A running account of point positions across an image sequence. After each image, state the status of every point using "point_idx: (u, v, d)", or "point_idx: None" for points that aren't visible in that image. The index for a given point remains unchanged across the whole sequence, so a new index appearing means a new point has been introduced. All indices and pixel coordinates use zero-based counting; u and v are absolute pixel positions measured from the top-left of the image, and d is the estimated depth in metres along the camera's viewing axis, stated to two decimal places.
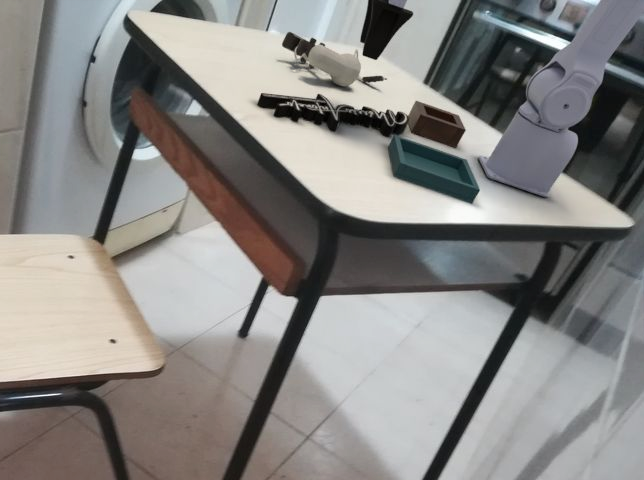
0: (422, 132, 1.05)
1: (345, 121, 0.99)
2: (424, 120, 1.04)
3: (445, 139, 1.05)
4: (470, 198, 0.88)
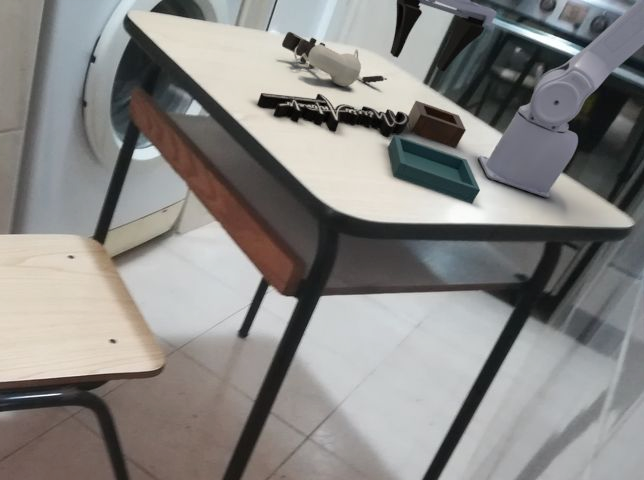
0: (422, 132, 1.05)
1: (345, 121, 0.99)
2: (424, 120, 1.04)
3: (445, 139, 1.05)
4: (470, 198, 0.88)
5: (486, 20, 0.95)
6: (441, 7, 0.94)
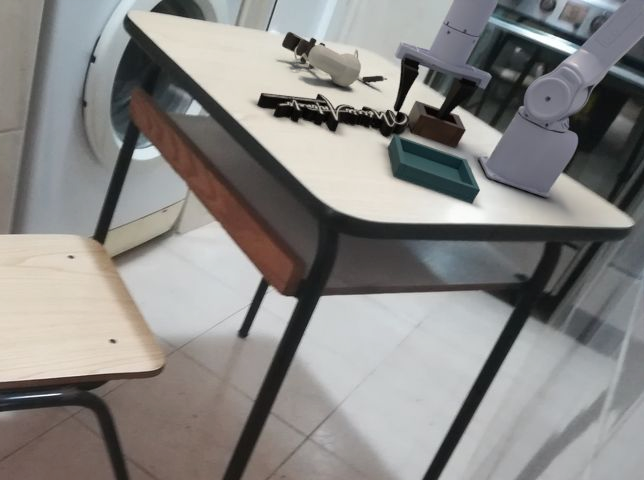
0: (422, 132, 1.05)
1: (345, 121, 1.00)
2: (424, 120, 1.04)
3: (445, 139, 1.05)
4: (470, 198, 0.88)
5: (481, 83, 1.01)
6: (438, 69, 1.02)
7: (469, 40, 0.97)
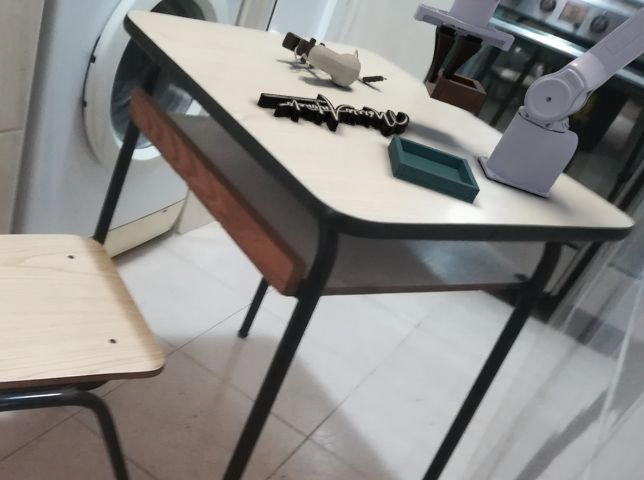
0: (441, 97, 1.01)
1: (345, 121, 1.00)
2: (443, 84, 1.00)
3: (465, 104, 1.01)
4: (470, 198, 0.88)
5: (503, 46, 0.97)
6: (459, 31, 0.98)
7: None
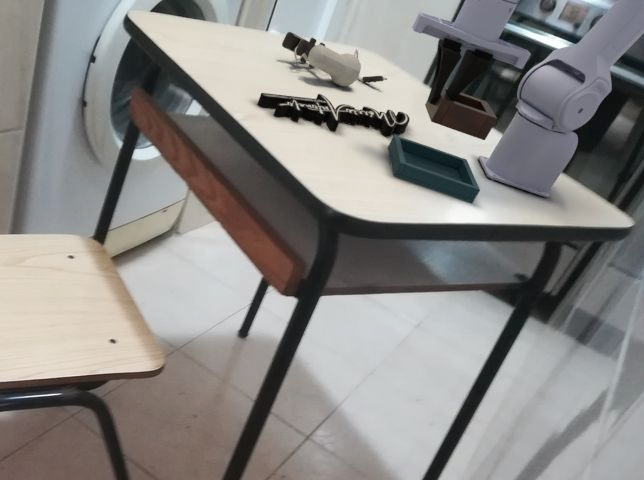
0: (444, 121, 0.87)
1: (345, 121, 1.00)
2: (447, 106, 0.85)
3: (472, 130, 0.87)
4: (470, 198, 0.88)
5: (517, 62, 0.83)
6: (465, 45, 0.84)
7: (505, 8, 0.79)
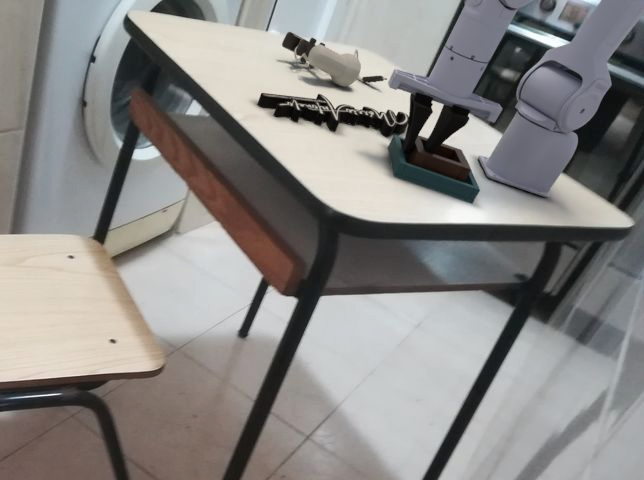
0: None
1: (345, 121, 1.00)
2: (422, 158, 0.88)
3: None
4: (470, 198, 0.88)
5: (490, 116, 0.86)
6: (439, 100, 0.86)
7: (476, 67, 0.81)
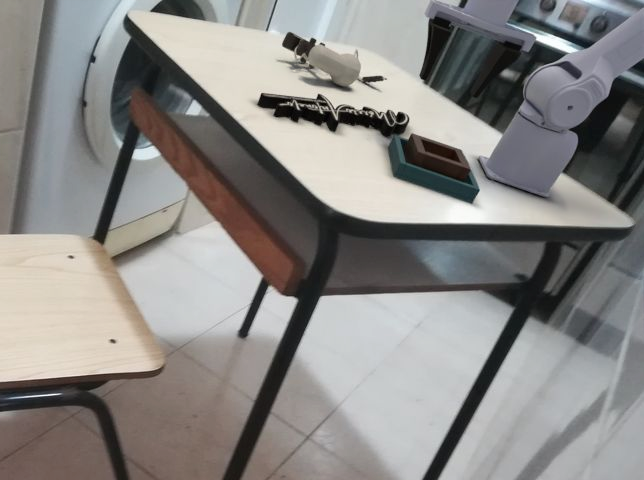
0: None
1: (345, 121, 1.00)
2: (422, 158, 0.88)
3: None
4: (470, 198, 0.88)
5: (524, 46, 0.88)
6: (474, 29, 0.89)
7: None
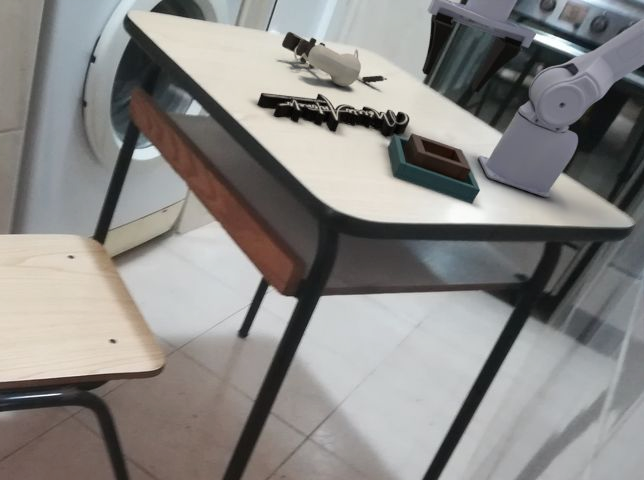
0: None
1: (345, 121, 1.00)
2: (422, 158, 0.88)
3: None
4: (470, 198, 0.88)
5: (524, 41, 0.91)
6: (476, 25, 0.91)
7: None
